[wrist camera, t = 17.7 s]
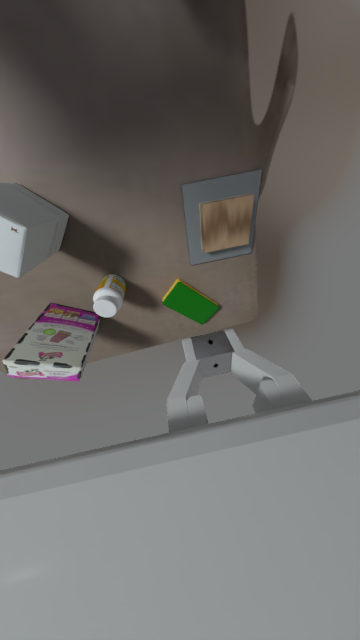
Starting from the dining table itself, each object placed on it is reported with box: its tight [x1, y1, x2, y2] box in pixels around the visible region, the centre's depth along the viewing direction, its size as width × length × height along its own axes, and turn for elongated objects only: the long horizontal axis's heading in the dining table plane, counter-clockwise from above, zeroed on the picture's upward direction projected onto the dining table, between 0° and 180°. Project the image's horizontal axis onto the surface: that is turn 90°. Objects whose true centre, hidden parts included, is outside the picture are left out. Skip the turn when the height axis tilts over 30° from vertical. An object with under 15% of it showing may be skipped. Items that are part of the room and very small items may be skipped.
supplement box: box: [0, 183, 69, 278], centre depth 23 cm, size 7×7×13 cm
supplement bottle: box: [93, 274, 126, 317], centre depth 33 cm, size 5×5×10 cm
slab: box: [199, 194, 254, 253], centre depth 31 cm, size 8×2×9 cm
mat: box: [181, 169, 262, 265], centre depth 32 cm, size 14×14×1 cm
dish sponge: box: [162, 279, 219, 324], centre depth 42 cm, size 7×14×2 cm, turn 53°
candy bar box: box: [3, 303, 101, 381], centre depth 34 cm, size 11×5×16 cm, turn 67°
